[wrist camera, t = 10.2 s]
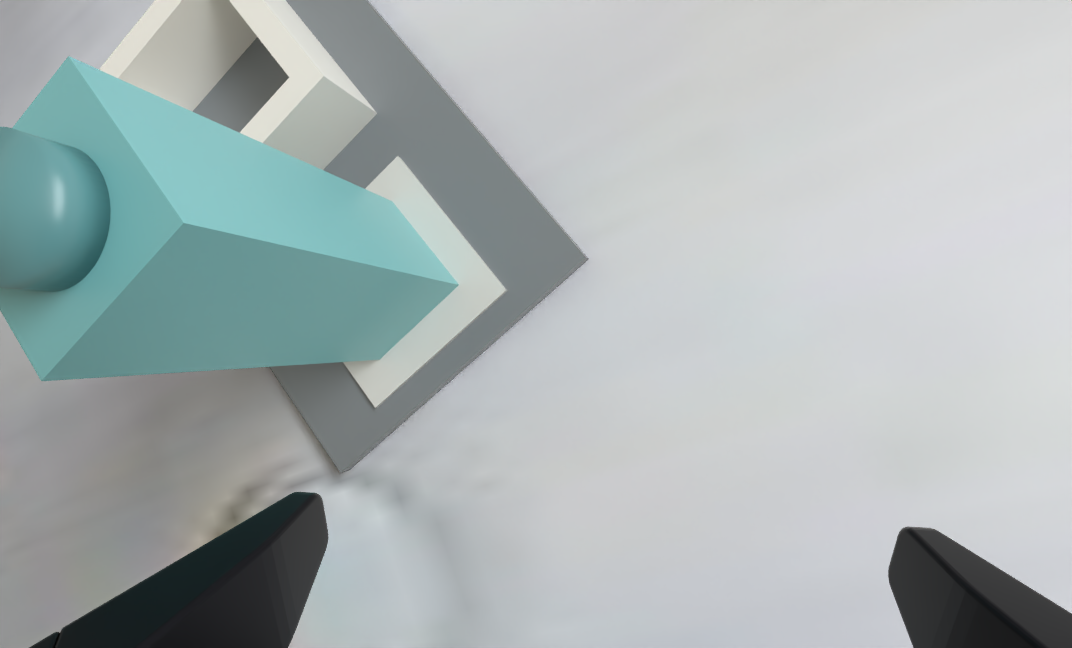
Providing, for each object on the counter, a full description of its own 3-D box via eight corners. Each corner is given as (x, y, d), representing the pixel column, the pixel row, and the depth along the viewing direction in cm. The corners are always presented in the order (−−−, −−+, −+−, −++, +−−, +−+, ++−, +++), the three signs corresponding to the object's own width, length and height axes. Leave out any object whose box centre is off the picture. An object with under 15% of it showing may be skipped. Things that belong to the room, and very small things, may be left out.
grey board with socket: (588, 258, 21) (563, 241, 17) (349, 469, 24) (281, 495, 20) (310, -67, 25) (239, -142, 21) (129, 145, 27) (36, 113, 24)
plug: (459, 284, 22) (129, 210, 9) (379, 359, 22) (-23, 384, 10) (392, 201, 22) (8, 28, 10) (318, 276, 23) (-122, 203, 11)
